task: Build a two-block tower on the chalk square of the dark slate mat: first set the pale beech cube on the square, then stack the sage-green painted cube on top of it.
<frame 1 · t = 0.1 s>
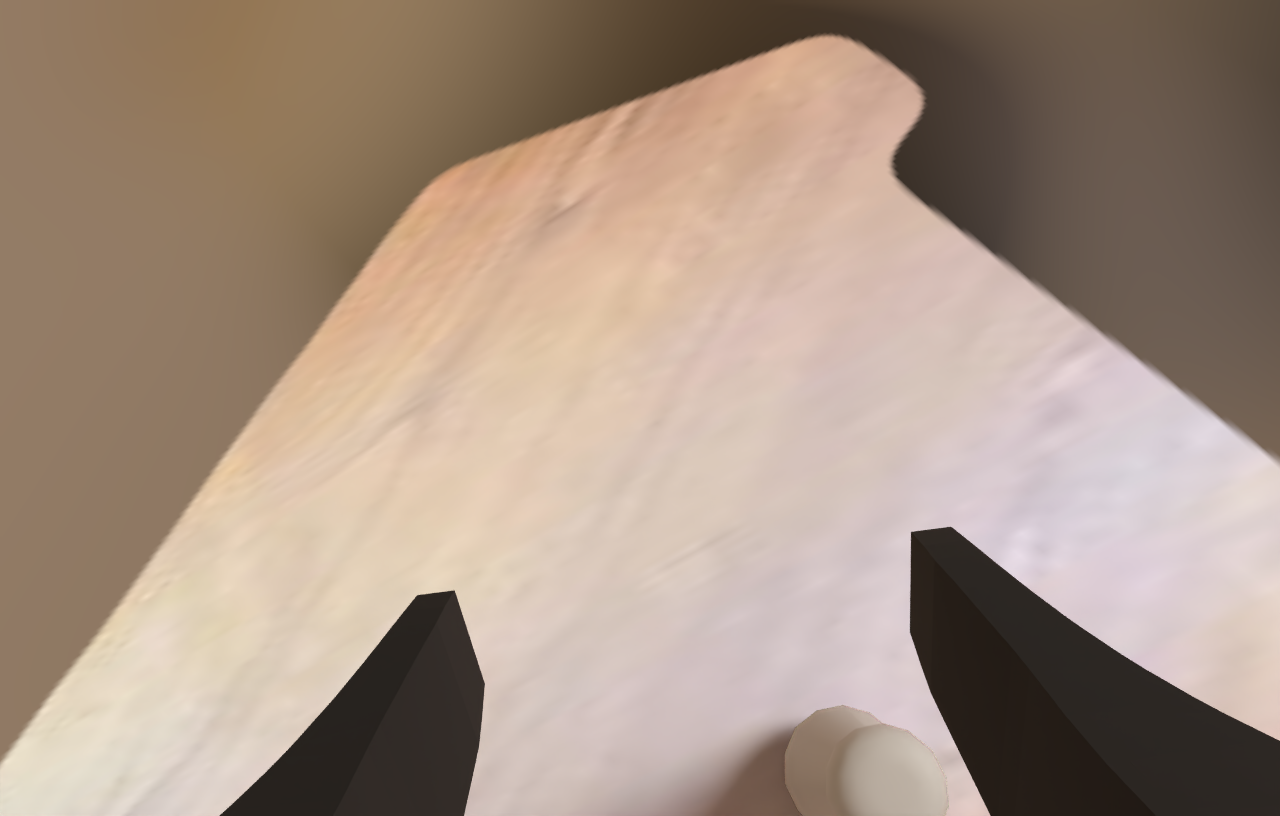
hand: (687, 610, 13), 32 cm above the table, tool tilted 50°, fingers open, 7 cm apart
salt shaker: (838, 767, 41), on the table
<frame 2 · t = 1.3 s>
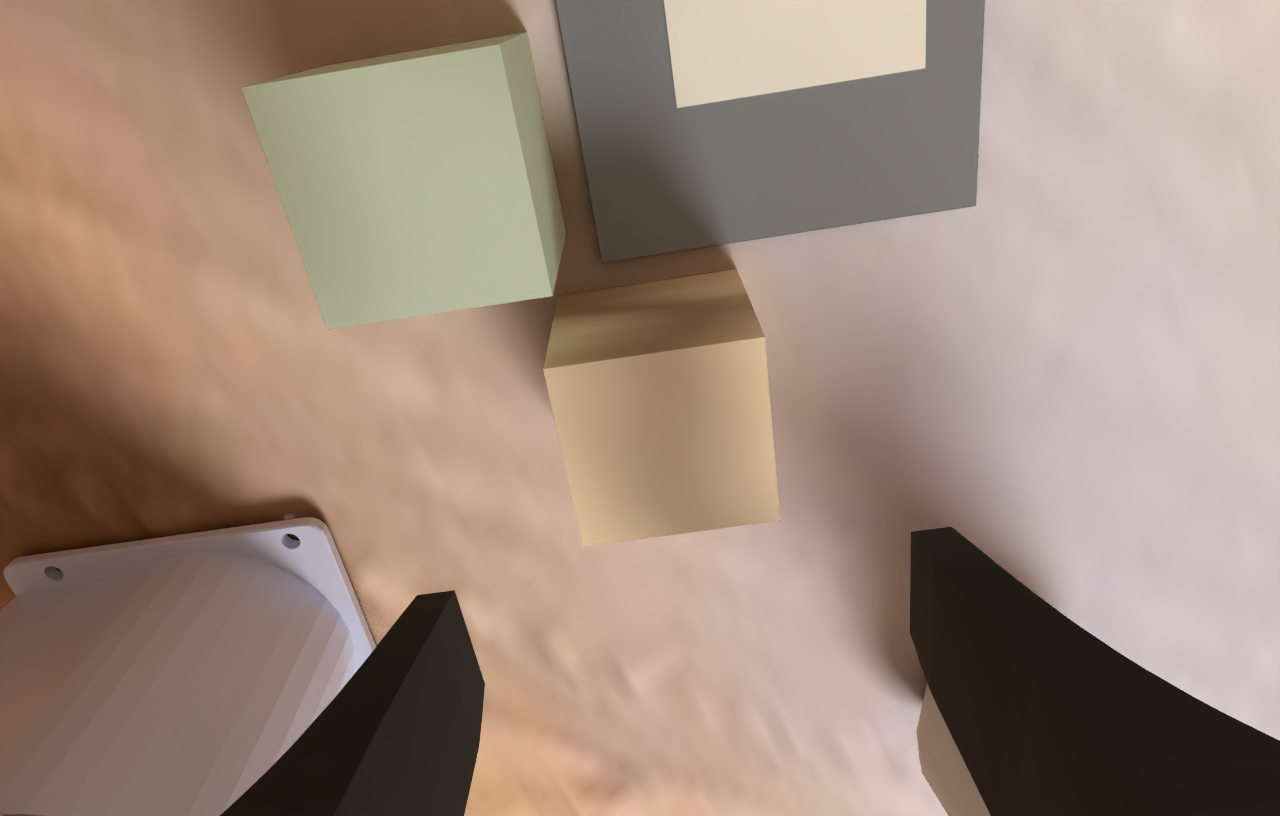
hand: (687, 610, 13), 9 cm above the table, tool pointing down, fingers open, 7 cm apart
beech block: (659, 362, 21), on the table
slate mat: (770, 4, 17), on the table
sage block: (452, 153, 19), on the table
salt shaker: (981, 675, 27), on the table
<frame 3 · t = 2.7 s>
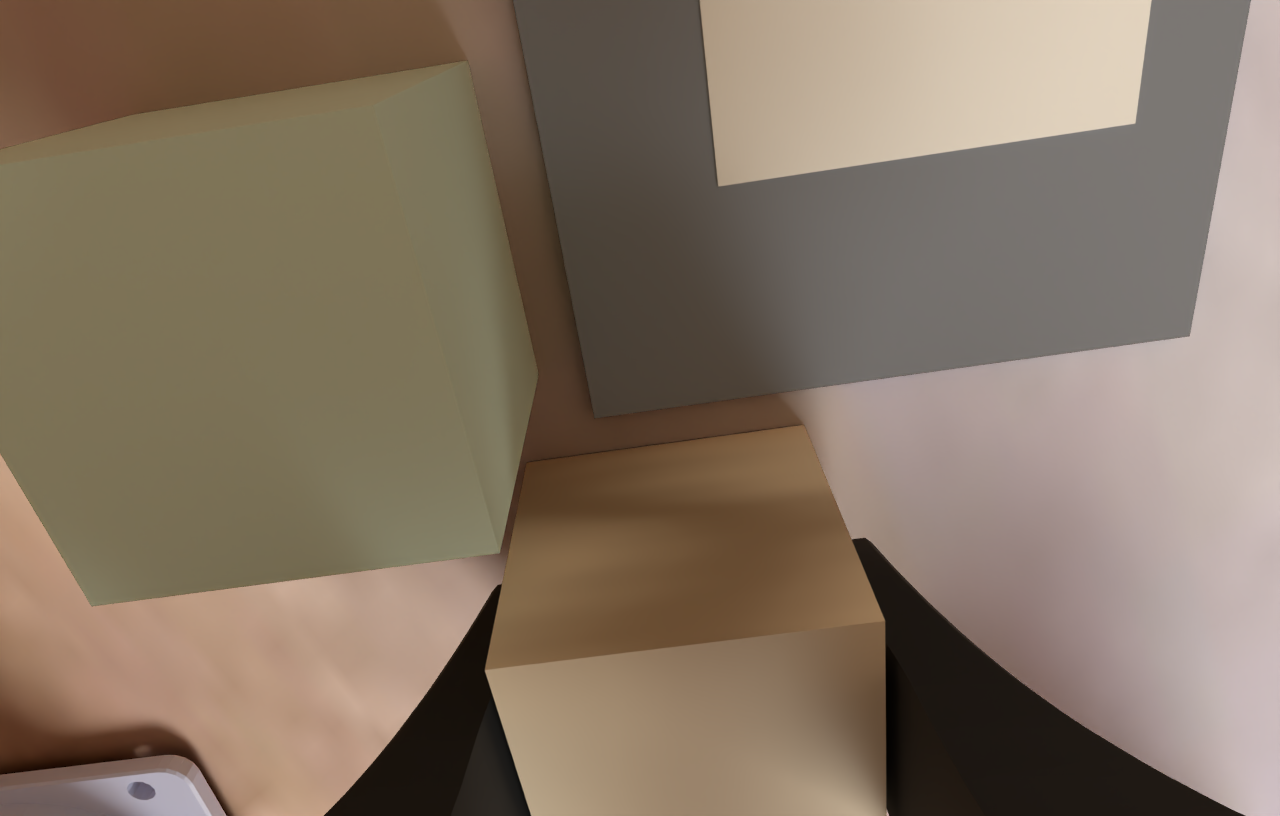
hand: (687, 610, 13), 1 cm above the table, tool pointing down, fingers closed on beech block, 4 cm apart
beech block: (681, 554, 14), on the table, touching gripper
slate mat: (880, 16, 10), on the table
sage block: (353, 253, 12), on the table
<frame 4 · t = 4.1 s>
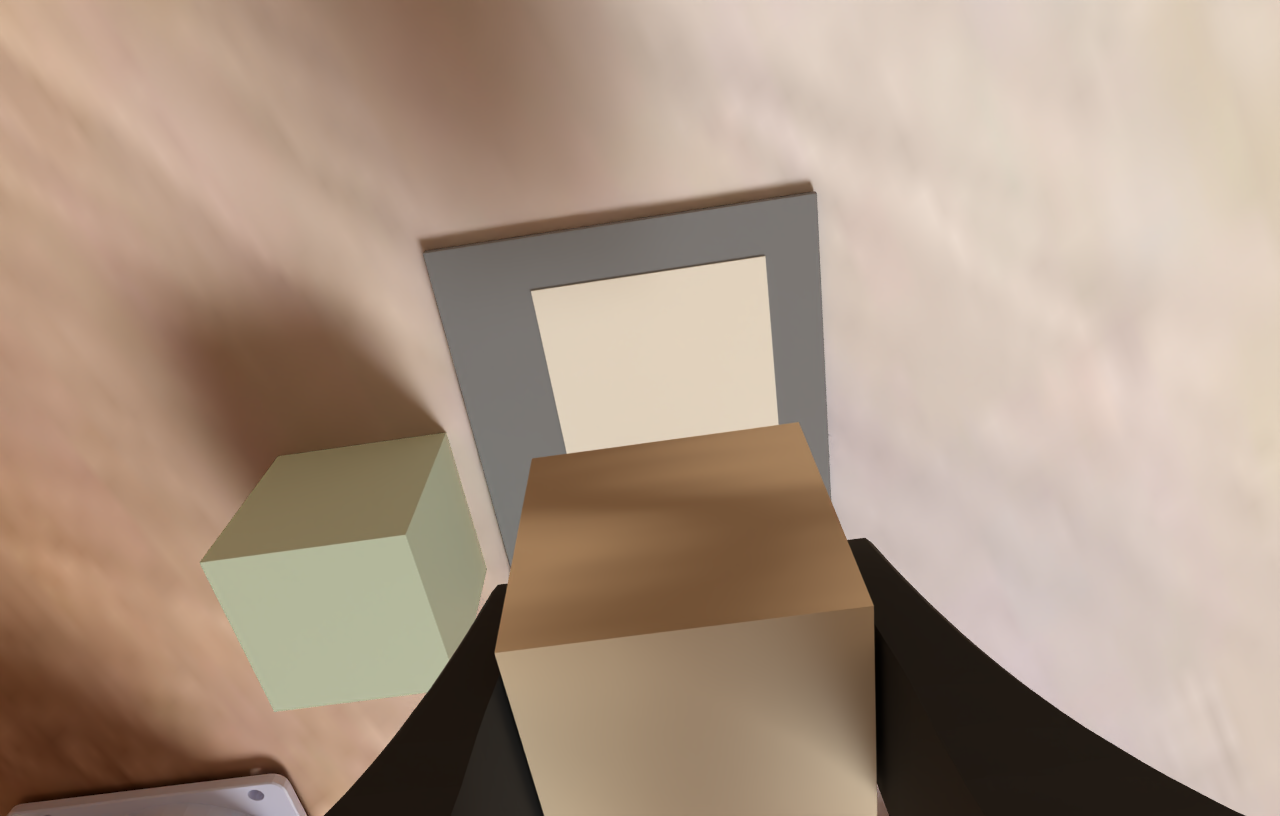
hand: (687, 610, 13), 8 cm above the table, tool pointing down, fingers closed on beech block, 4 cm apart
beech block: (680, 547, 15), point 7 cm above the table, touching gripper
slate mat: (648, 413, 21), on the table
sage block: (387, 513, 22), on the table
when the fingers open (3 cm above the table, at t = 5.7 s): beech block stays where it is, resting on slate mat.
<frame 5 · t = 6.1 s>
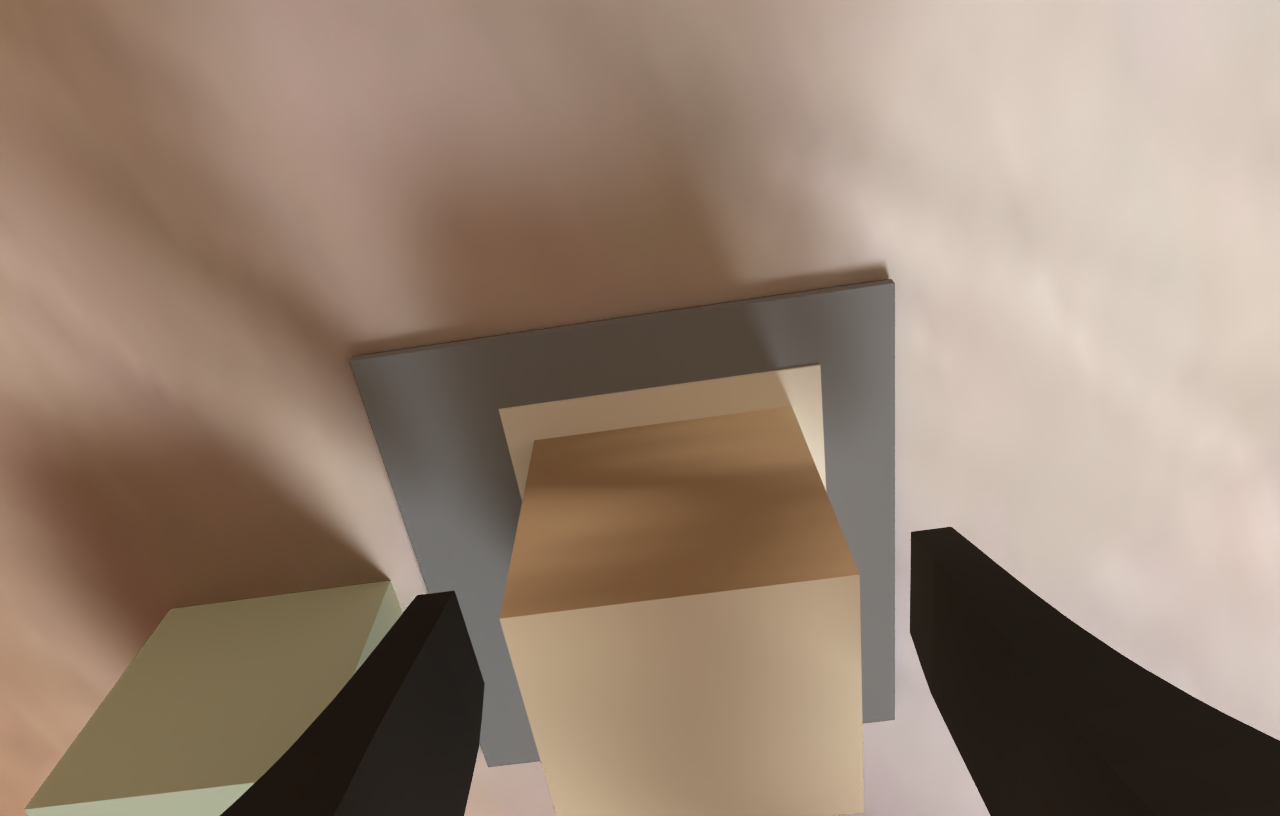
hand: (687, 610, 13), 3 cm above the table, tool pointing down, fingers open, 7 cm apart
beech block: (677, 528, 15), resting on slate mat
slate mat: (657, 558, 16), on the table
sage block: (318, 674, 17), on the table
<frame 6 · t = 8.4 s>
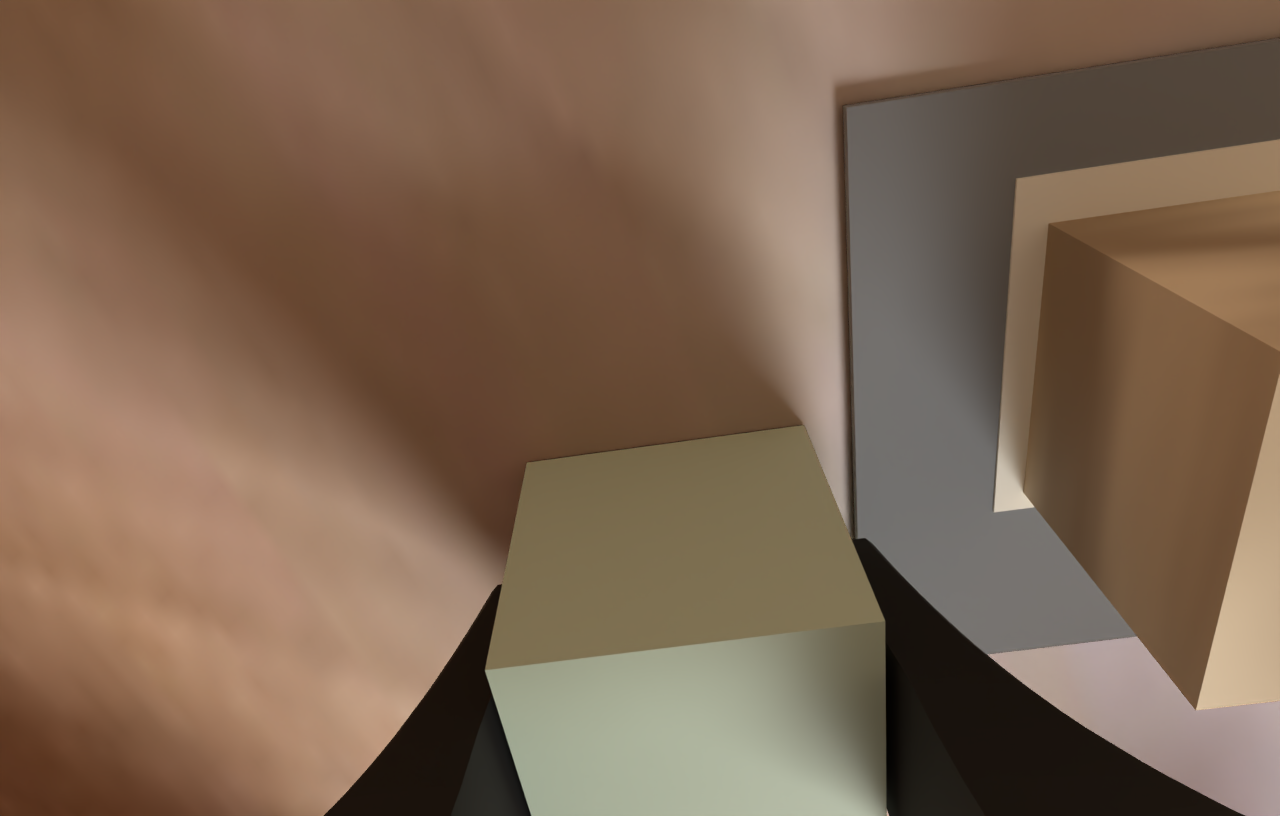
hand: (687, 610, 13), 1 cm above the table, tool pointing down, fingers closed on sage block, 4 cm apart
beech block: (1187, 349, 12), resting on slate mat
slate mat: (1138, 394, 13), on the table
sage block: (681, 554, 14), on the table, touching gripper
when the fingers open (7 cm above the table, at t = 11.0 s): sage block stays where it is, resting on beech block.
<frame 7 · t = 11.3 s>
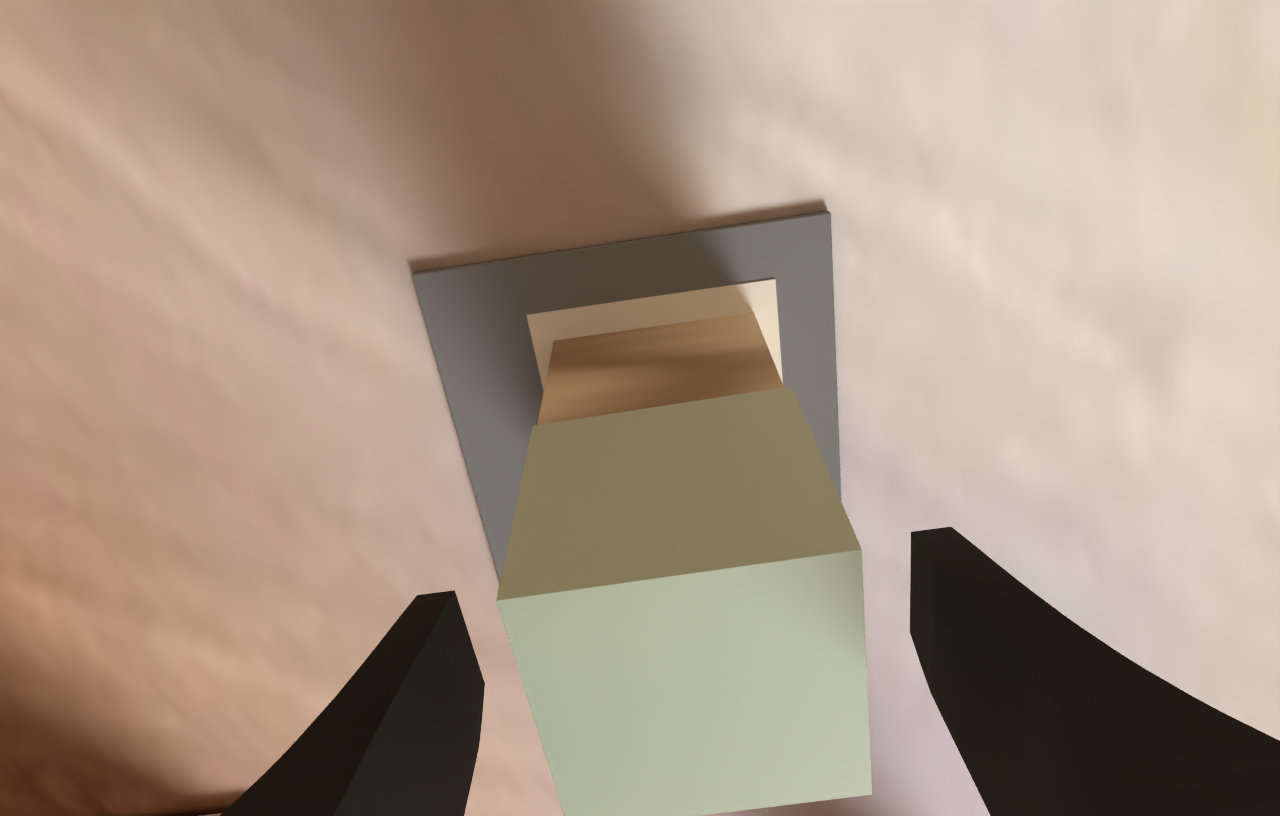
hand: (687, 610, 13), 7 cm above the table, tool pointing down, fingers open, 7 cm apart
beech block: (665, 414, 19), resting on slate mat, touching sage block
slate mat: (650, 442, 20), on the table
sage block: (679, 513, 15), point 5 cm above the table, touching beech block
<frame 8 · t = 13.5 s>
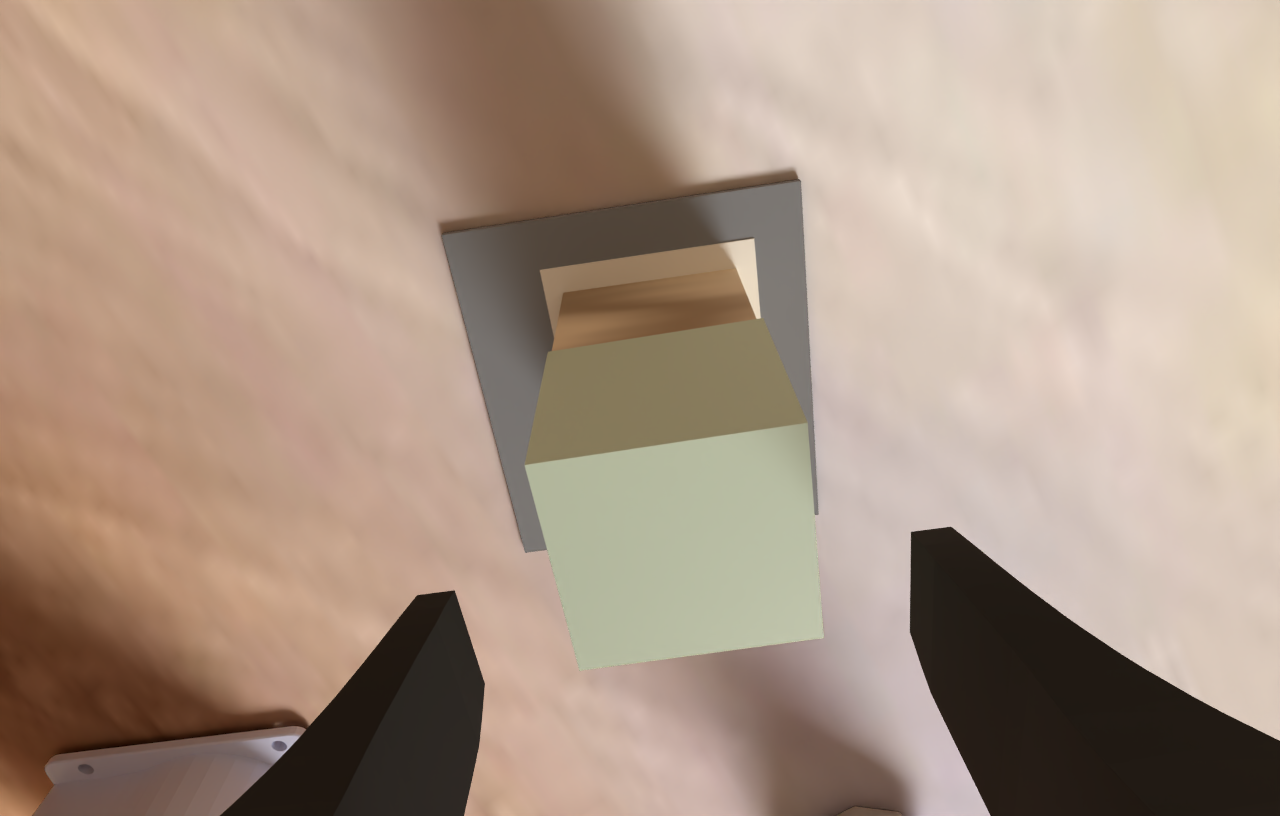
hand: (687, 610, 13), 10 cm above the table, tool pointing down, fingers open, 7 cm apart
beech block: (660, 359, 22), resting on slate mat, touching sage block
slate mat: (647, 384, 22), on the table
sage block: (670, 428, 18), point 5 cm above the table, touching beech block
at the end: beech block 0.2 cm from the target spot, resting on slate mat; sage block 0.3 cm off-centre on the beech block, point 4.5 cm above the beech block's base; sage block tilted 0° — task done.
